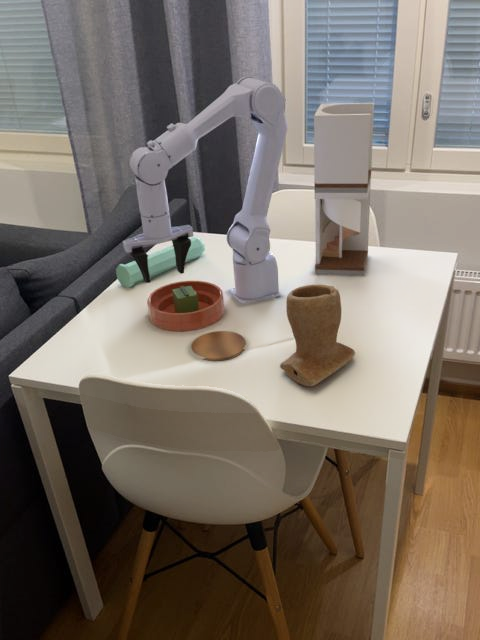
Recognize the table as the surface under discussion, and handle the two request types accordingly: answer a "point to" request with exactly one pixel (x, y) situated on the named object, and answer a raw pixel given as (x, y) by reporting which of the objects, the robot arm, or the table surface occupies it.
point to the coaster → (218, 345)
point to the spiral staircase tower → (342, 186)
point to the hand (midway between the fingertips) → (164, 276)
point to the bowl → (208, 312)
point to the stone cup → (315, 334)
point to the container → (156, 263)
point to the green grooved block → (185, 300)
